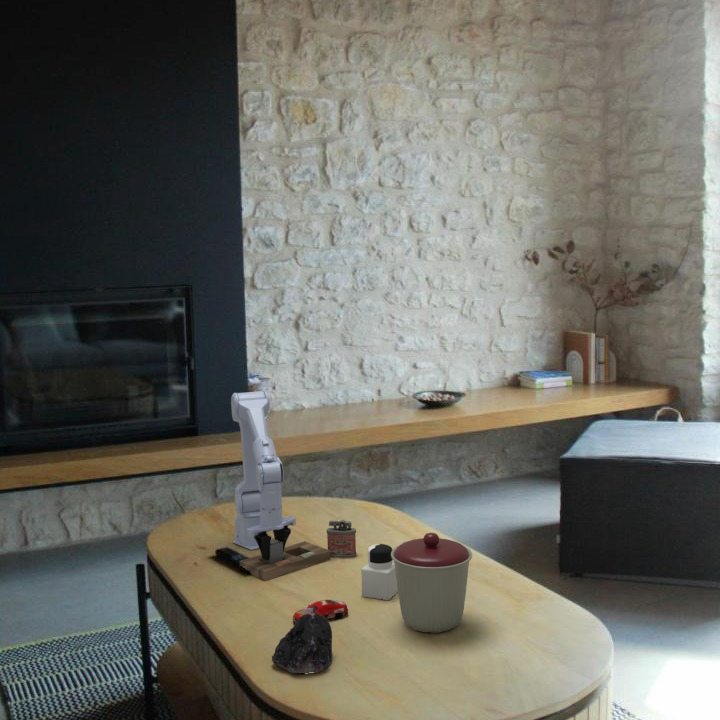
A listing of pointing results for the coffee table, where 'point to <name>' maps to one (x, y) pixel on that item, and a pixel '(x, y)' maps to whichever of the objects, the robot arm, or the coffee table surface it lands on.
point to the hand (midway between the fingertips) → (272, 557)
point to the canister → (431, 582)
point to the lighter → (341, 539)
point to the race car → (324, 610)
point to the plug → (275, 552)
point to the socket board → (287, 561)
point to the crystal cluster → (305, 646)
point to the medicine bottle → (379, 573)
